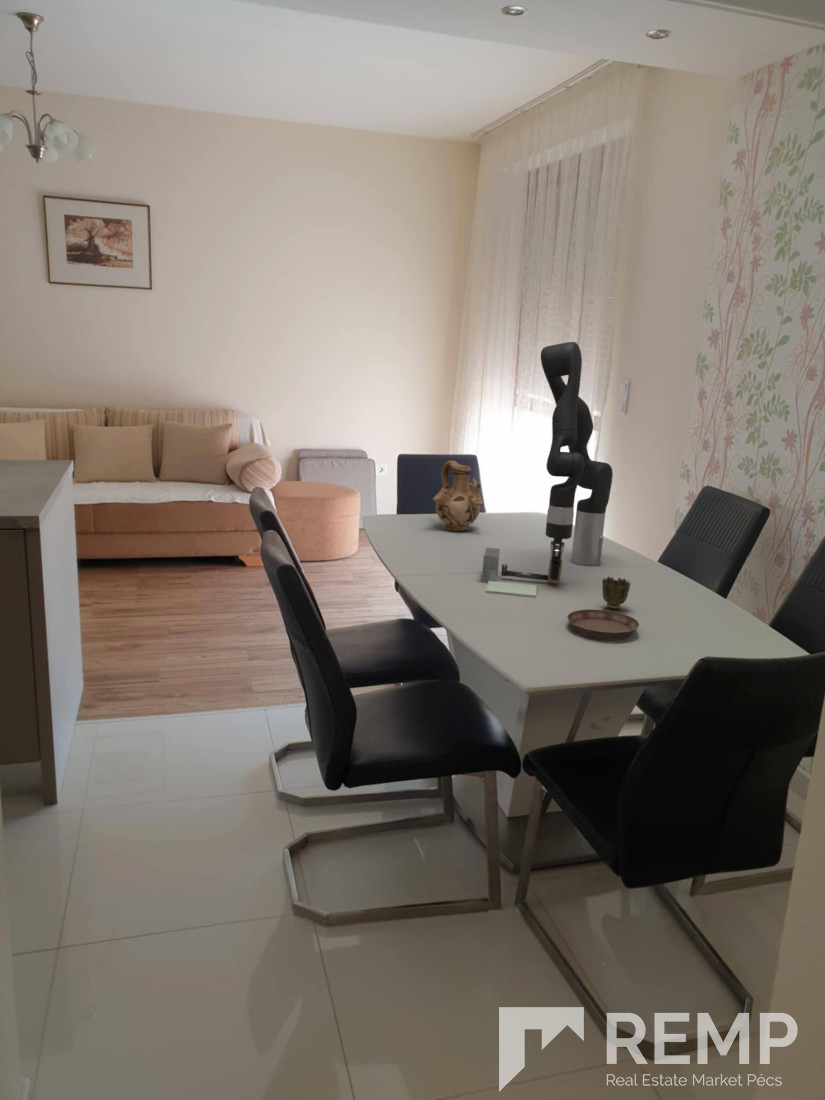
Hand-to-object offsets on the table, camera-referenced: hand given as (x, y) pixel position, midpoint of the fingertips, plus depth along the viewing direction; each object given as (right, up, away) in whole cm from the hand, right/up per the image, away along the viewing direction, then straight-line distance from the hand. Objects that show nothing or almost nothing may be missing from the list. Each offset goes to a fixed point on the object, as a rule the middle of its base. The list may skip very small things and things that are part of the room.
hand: (554, 577), depth 246 cm
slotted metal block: (-19, 0, +3) cm, 19 cm away
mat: (-13, -3, -8) cm, 16 cm away
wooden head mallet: (-7, 0, +1) cm, 7 cm away
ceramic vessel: (-25, +15, +63) cm, 70 cm away
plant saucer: (+6, -12, -37) cm, 39 cm away
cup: (+13, -8, -19) cm, 24 cm away
